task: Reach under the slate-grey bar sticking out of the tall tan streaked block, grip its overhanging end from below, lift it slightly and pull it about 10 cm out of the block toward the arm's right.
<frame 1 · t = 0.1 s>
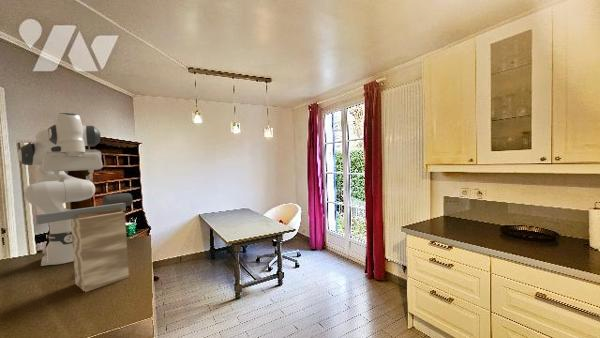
hand: (75, 180, 115), 39 cm above the worktop, tool pointing down, fingers open, 8 cm apart
tan streaked block: (102, 280, 103), on the worktop
grey bar: (85, 216, 99), point 26 cm above the worktop, touching tan streaked block
rubber mallet: (120, 249, 143), on the worktop
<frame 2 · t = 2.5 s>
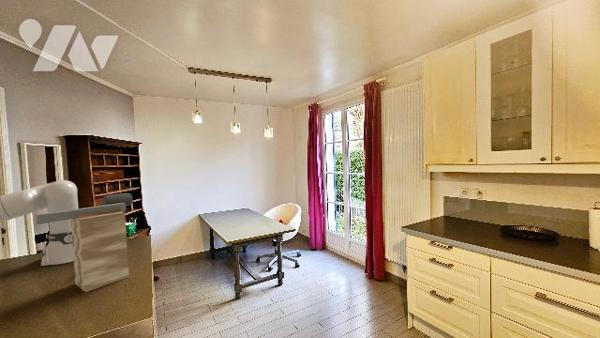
nothing on the worktop moved.
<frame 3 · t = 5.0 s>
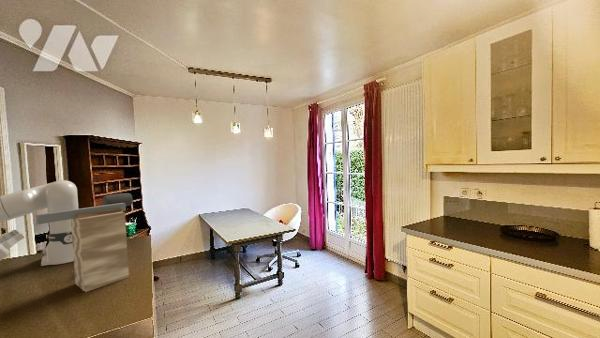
hand: (19, 232, 85), 24 cm above the worktop, tool pointing upward, fingers open, 8 cm apart
nothing on the worktop moved.
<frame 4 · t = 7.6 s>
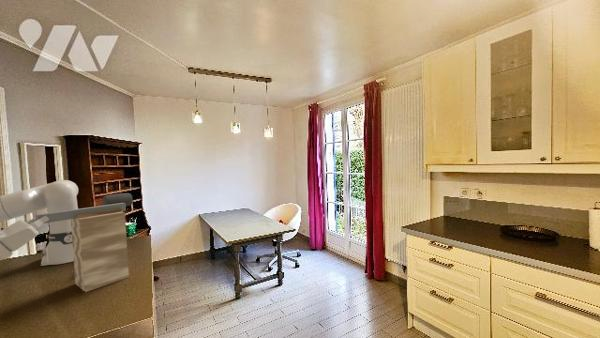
hand: (45, 216, 91), 28 cm above the worktop, tool pointing upward, fingers closed on grey bar, 3 cm apart
grey bar: (85, 216, 99), point 26 cm above the worktop, touching tan streaked block, gripper
everything else where it was.
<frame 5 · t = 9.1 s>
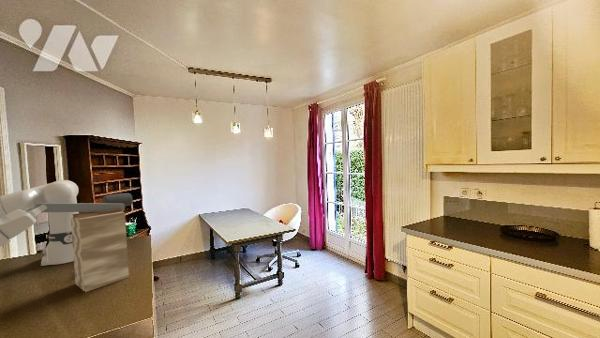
hand: (44, 205, 90), 32 cm above the worktop, tool pointing upward, fingers closed on grey bar, 3 cm apart
grey bar: (82, 211, 99), point 28 cm above the worktop, tilted 9°, touching tan streaked block, gripper
everything else where it was.
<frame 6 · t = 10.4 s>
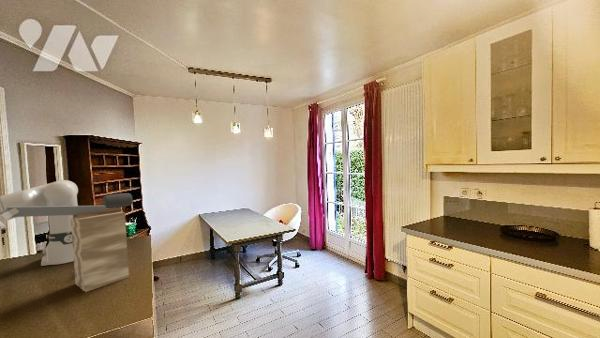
hand: (16, 209, 85), 32 cm above the worktop, tool pointing upward, fingers closed on grey bar, 3 cm apart
grey bar: (60, 214, 94), point 28 cm above the worktop, tilted 8°, touching gripper
everything else where it was.
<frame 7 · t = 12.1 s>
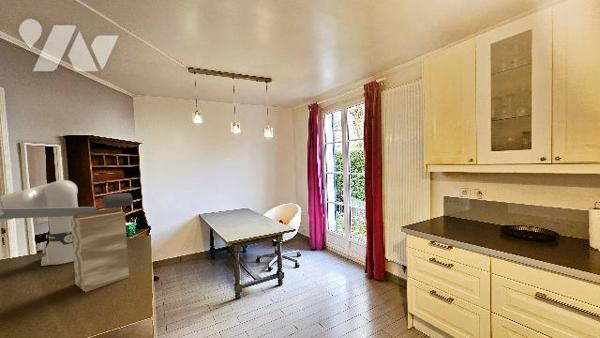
hand: (1, 210, 83), 32 cm above the worktop, tool pointing upward, fingers closed on grey bar, 3 cm apart
grey bar: (48, 216, 91), point 28 cm above the worktop, tilted 8°, touching tan streaked block, gripper
everything else where it was.
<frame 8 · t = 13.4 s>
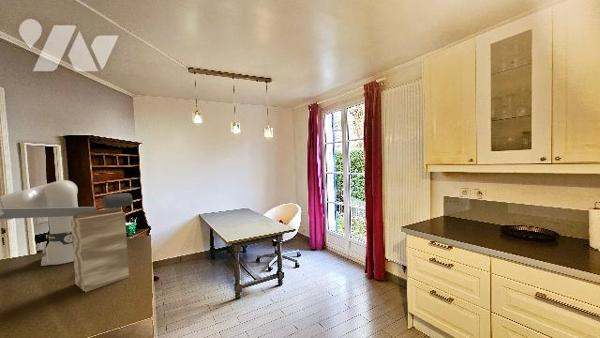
hand: (1, 210, 83), 32 cm above the worktop, tool pointing upward, fingers closed on grey bar, 3 cm apart
grey bar: (48, 216, 91), point 28 cm above the worktop, tilted 8°, touching tan streaked block, gripper
everything else where it was.
at the end: the gripper is holding grey bar; grey bar moved 10.2 cm from its start; grey bar inside the target area (0.1 cm from its centre), point 27.9 cm above the worktop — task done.
